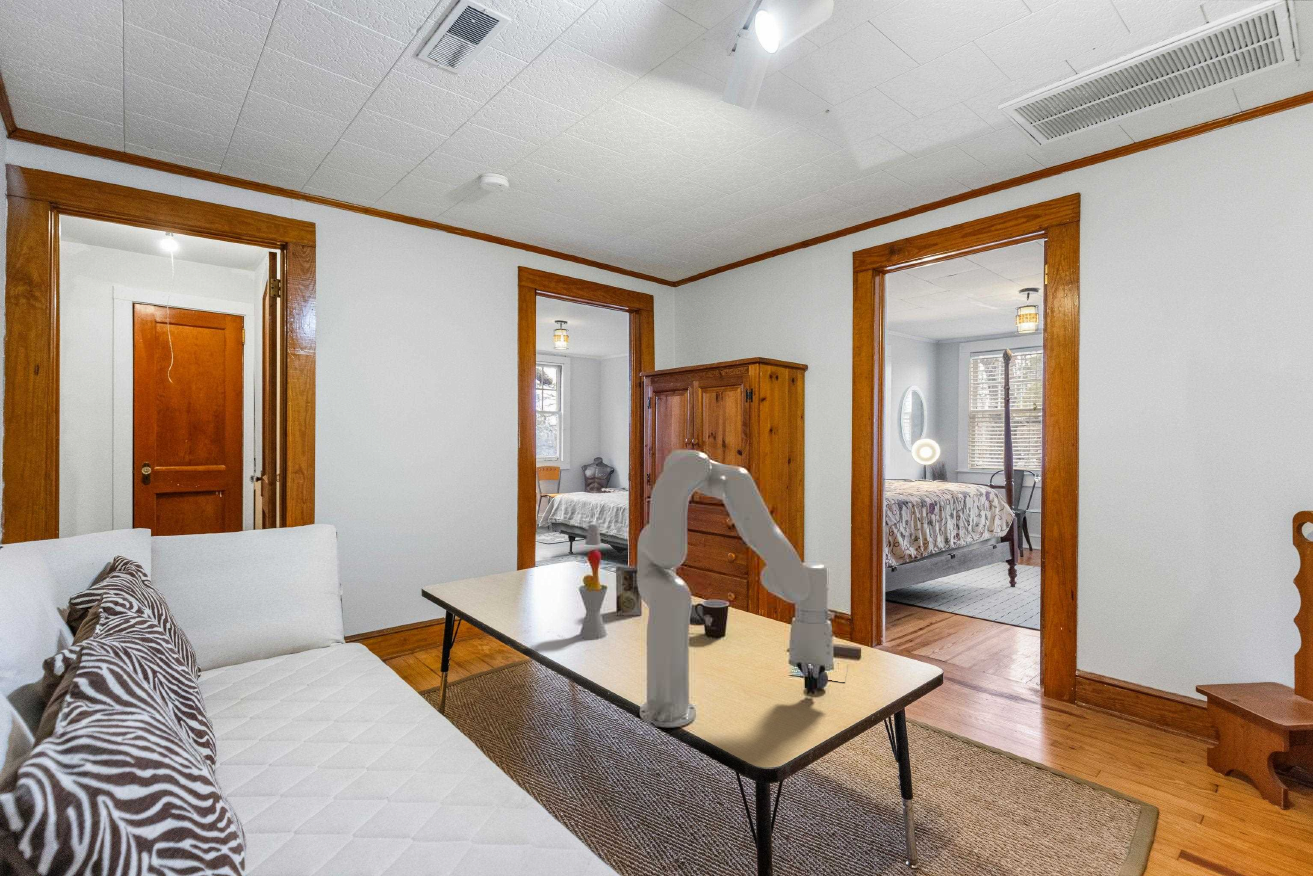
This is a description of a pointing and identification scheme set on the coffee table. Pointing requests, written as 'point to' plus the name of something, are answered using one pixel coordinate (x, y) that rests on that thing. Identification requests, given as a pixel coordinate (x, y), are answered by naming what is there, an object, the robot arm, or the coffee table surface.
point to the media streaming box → (694, 617)
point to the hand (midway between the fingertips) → (811, 691)
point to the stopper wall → (846, 650)
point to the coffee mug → (714, 617)
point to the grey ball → (821, 679)
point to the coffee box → (627, 591)
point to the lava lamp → (593, 591)
